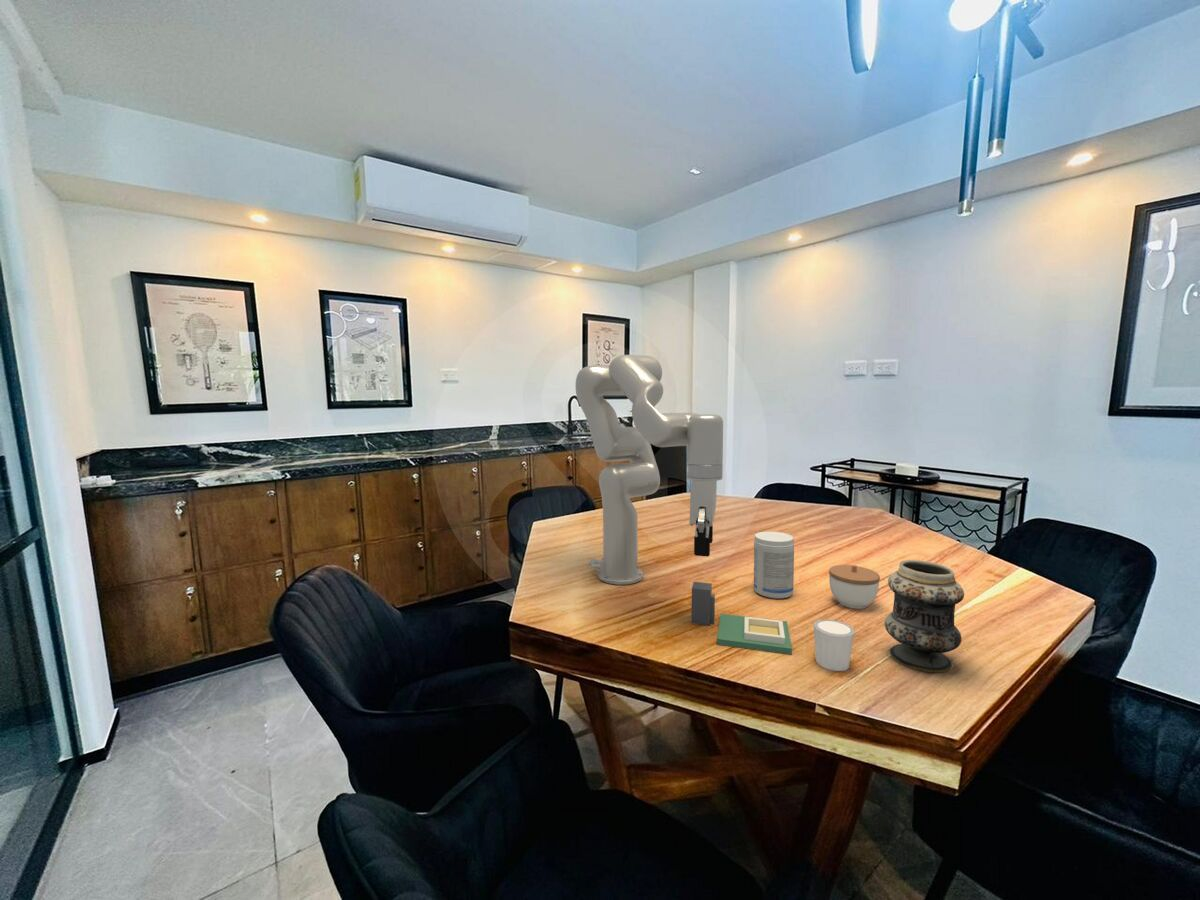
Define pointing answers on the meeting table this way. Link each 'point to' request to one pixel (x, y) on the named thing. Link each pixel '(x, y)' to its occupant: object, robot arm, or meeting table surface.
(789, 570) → the supplement tub
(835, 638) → the white cylinder
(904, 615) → the apothecary jar
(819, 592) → the meeting table surface
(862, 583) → the lidded jar
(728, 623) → the board
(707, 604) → the plug
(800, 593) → the meeting table surface
